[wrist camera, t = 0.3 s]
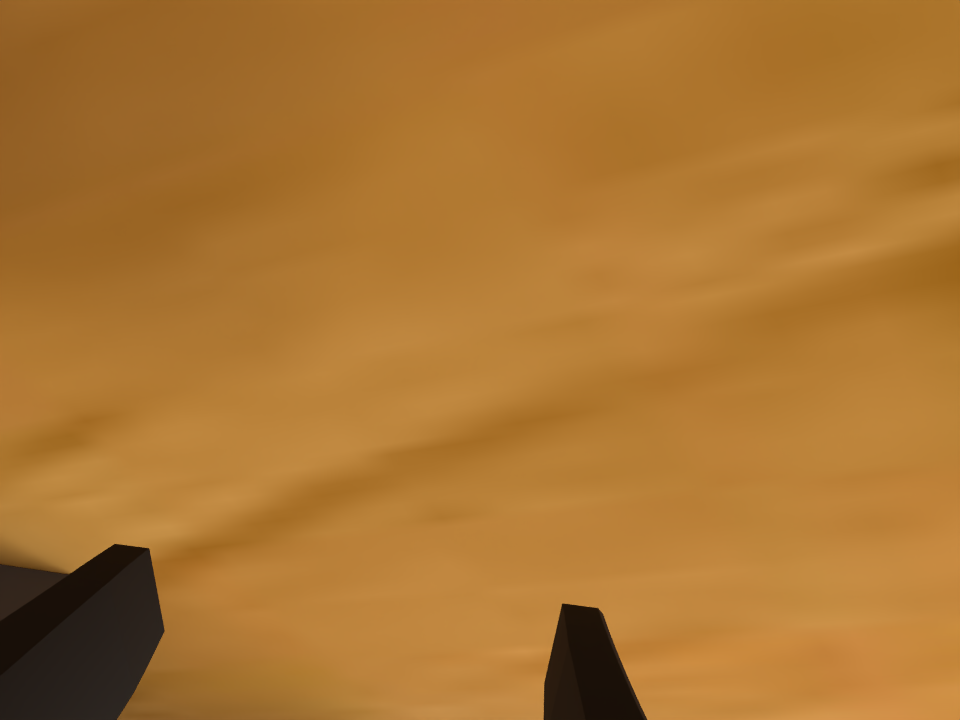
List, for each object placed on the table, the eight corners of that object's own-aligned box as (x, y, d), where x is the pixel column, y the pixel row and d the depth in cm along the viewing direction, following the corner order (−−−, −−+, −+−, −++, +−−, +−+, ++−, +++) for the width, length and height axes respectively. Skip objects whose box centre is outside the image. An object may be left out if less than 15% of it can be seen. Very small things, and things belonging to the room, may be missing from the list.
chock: (113, 706, 29) (61, 786, 26) (23, 692, 29) (-41, 770, 26) (81, 571, 25) (15, 646, 22) (-23, 555, 25) (-105, 628, 22)
